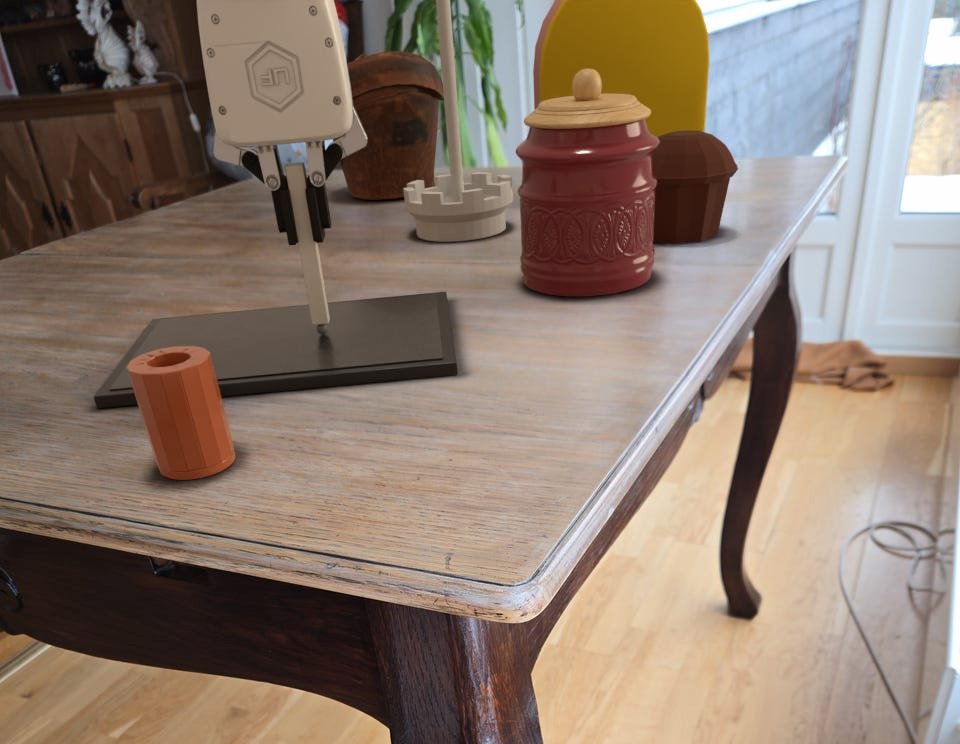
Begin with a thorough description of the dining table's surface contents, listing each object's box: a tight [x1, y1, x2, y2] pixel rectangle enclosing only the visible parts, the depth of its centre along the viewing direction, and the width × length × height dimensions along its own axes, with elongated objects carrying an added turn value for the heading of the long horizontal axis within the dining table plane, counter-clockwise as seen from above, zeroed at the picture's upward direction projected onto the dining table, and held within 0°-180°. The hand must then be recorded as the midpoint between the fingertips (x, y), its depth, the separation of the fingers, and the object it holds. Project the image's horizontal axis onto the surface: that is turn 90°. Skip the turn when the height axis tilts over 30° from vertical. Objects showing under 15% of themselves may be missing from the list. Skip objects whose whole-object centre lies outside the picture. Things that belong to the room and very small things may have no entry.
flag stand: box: [403, 0, 514, 242], centre depth 101 cm, size 13×13×30 cm
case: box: [332, 50, 444, 201], centre depth 128 cm, size 18×20×18 cm
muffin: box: [653, 130, 739, 245], centre depth 97 cm, size 12×11×10 cm
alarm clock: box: [532, 0, 710, 137], centre depth 113 cm, size 21×9×26 cm, turn 93°
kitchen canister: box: [515, 69, 659, 297], centre depth 83 cm, size 13×13×18 cm
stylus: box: [284, 161, 330, 335], centre depth 72 cm, size 1×1×13 cm
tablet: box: [93, 291, 458, 410], centre depth 77 cm, size 28×20×1 cm
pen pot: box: [127, 346, 236, 481], centre depth 57 cm, size 5×5×7 cm
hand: (307, 238), depth 72 cm, fingers closed on stylus, 1 cm apart
